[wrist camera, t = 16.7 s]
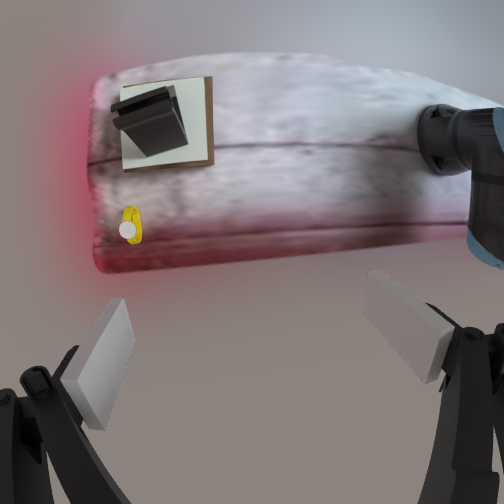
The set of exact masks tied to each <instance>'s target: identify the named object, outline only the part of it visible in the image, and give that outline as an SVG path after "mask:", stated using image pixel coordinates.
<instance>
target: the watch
mask: <svg viewBox="0 0 504 504" xmlns="http://www.w3.org/2000/svg"><path fill="white" fill-rule="evenodd" d="M131 215H132V220H133V221H131ZM119 232H120V234H121V236H122V237H124V238H126V239H127V241H128V242H129V243H130V244H131V245H132V244H138V243H140V242H141V239H142V226H141V221H140V215H139V211H138V209H137V208H136V207H135V206H130V207H126V208H125V209H124V212H123V223H121V225H120V227H119Z"/></svg>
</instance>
